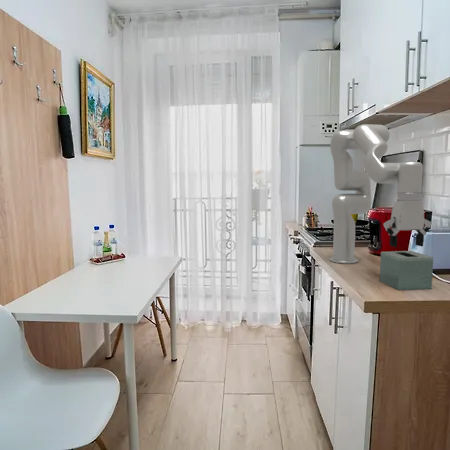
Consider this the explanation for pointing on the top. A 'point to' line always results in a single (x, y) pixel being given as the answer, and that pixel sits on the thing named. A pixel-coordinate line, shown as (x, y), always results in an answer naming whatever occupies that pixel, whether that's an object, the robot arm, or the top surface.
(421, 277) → the coin box
